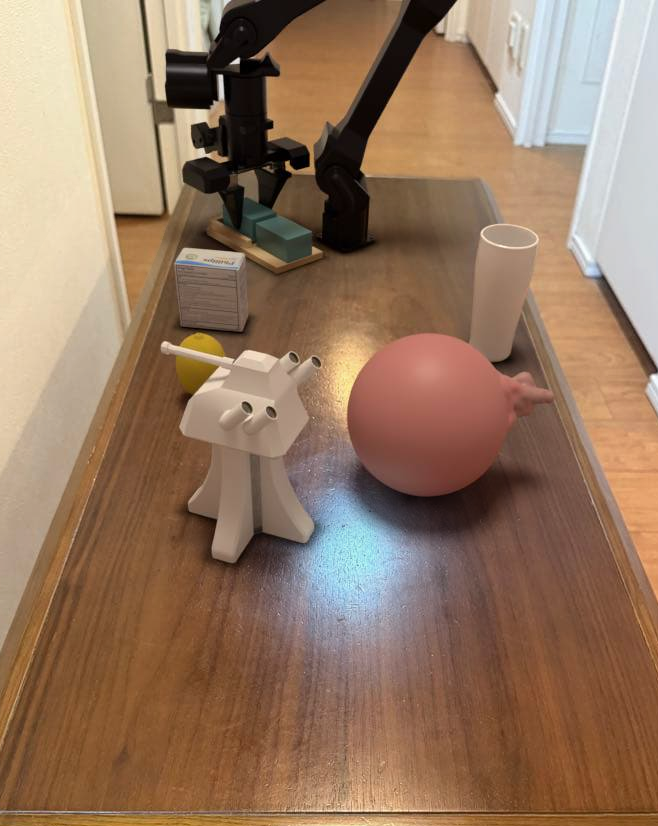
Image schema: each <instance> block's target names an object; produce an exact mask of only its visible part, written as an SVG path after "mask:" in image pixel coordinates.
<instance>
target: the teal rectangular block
mask: <svg viewBox="0 0 658 826" xmlns="http://www.w3.org/2000/svg"><path fill="white" fill-rule="evenodd" d="M221 206H222V207H221V208H222V215H223V224H224V225H226V226H228V227H230V228H231V229H233V230H235V231H237V232H239V233H241V234H242V235H244V236H246V237H248V238H250V239H251V240H252V242H256V223H258V222H261V221H265V220H268V219H271V218H274V217H278V213H277V211H276V210H274V209H272V210H271V209H270V208H268V207H266V206H264V205H262V204H260V203H259V201H256V200H254V199H252V198H250V197H248V196H246V197H245V196H244V202H243V214H242V223H241V228H240V229H239V230H237V229H236V228H234V226H233V224H232V221H231V219H230V217H229V214H228V212H227V209H226V207H225V205H224V203H222V204H221Z"/></svg>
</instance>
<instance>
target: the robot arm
mask: <svg viewBox="0 0 658 826" xmlns="http://www.w3.org/2000/svg"><path fill="white" fill-rule="evenodd" d="M326 1H327V0H229V1H228V2H227V3H226V4H225V5H224V7H223V9H222V11H221V18H220V22H219V26H218V27H219V28H218V33H217V35H216V36H215V38H214V40H213V41H210V46H209V48H208V51H189V50H187V51H186V50H180V49H177V48H167V49H166V50H165V53H164V57H165V59H164V60H165V82H164V93H165V100H166V105H167V108H168V109H172V110H173V109H175V110H176V109H177V110H205V111H207V110H208V111H210V110H212V106H214V105H215V103H214V102H217V103H218V102H220V79H219V75H220V76H222V86H223V105H224V114H221V115H219V118H218V119H217V121H218V126H212V127H210V126H209V124H208V122H207V121H201V122H197V123H192V124H190V139H191V142H192V146H193V148H194V149H195V150H199V149H203V150H204V155H208V154H212V153H213V152H216V153H217V156H219V157H222V158H227V160H226V161H222V162H218V161H216V160H214V159H212V158H211V157H208V156H202V157H198V158H195V159H189V160H186V161H185V162H184V163H183V165H182V169H181V173H182V174H181V177H182V183H184V184H186V185H187V186H189V187H191V188H193V189H195V190H197V191H198V192H200V193H203V194H204V195H205V194H206V195H212V194H215V193H218V195H219V197H220V198H221V200H222V202H223V204H224V205H225V207H226V209H227V212H228V214H229V217H230V219H231V221H232V224H233V226H234V228H236V229H237V230H239V229H240V228H241V223H242V214H243V202H244V198H245V187H244V186H243V185H241V184H239V177H238V176H239V175H241V174H244V173H248V172H252V171H253V172H254V174H255V177H256V180H257V194H258V195H257V197H258V203H260V204H262V205H264V206H266V207H268V208H270V209H271V210H273V208H274V206H275V204H276V202H277V200H278V197H279V196H280V194H281V192H282V190H283V188H284V186H286V183H287V181H288V179H291V178H292V177H293V173H292V172H291V171H290V170H287V165H286V163H287V162H288V163H289V166H290V167H291V168H292V170H293V171H299V170H305V169H306V168H310V167H311V152H310V150H309V148H308V146H307V145H306V144H304V143H302V142H300V141H297V140H295V139H292V138H290V137H289V136H284V137H280V138H275V139H272V140H269V134H268V133H269V130H274V120H272V119H271V118H269V117H268V81H267V78H268V77H270V78H279V77H280V76H281V65H280V64H279V63H278V61H276V60H275V59H274V58H273V57H272V55H271V53H270V52H269V51H266V52H265V53H264V54H263V56H262V57H260V58H259V57H258V58H255V56H257V55H258V54H259V53H261V51H263V50H264V49H265V48H266V47H267V46H268V45H270V44H271V42H273V41H274V40H276V38H277V37H278V36H280V34H281V33H282V32H283V31H284V30H285V28H287V27H288V26H289V24H292V22H293V21H294V20H295V19H297V18H299V17H301V16H303V15H304V14H305V13H308V12H309V11H311V10H312V9H314V8H316V7H318V6H319V5H321V4H322V3H324V2H326ZM457 2H458V0H401V3H400V7H399V11H398V14H397V17H396V19H395V22H394V23H393V25H392V27H391V28H390V30H389V32H388V34H387V36H386V38H385V39H384V41H383V44H382V45H381V48H380V49H379V51H378V53H377V55H376V57H375V58H374V61H373V62H372V65H371V66H370V68H369V70H368V72H367V74H366V76H365V78H364V80H363V81H362V83H361V85H360V87H359V89H358V91H357V93H356V95H355V96H354V98H353V99H352V100H353V101H352V102H351V104H350V106H349V108H348V109H347V112H346V114H345V115H344V117H343V118H342V119H340V121H339V122H338V123H336V125H333V124H332V123H331V122H330V121H328V120H327V121H326V122H325V123H324V126H323V129H322V132H321V134H320V136H319V138H318V140H317V141H316V142H315V143H314V144H313V145H312V147H313V169H314V179H315V183H316V185H317V187H318V189H319V190H320V191H321V192H322V193H324V194H325V195H326V196H327V199H324V200H323V201H324V204H323V212H322V214H321V215H322V217H321V232H320V233H317V234H316V239H317V240H318V241H321V242H323V243H325V244H326V245H329V246H331V247H332V248H335V249H337V250H339V251H340V252H342V253H347V252H350V251H353V250H356V249H359V248H362V247H365V246H367V245H370V244H373V243H375V241H376V238H375V237H373V236H372V235H369V233H368V232H369V218H370V217H369V216H370V201H371V200H370V199H371V196H370V195H371V194H370V191H369V190H370V189H369V187H368V182H367V181H368V180H367V177H366V174H365V173H364V172H363V170H362V169H361V167H362V164H363V161H364V158H365V153H366V150H367V146H368V142H369V138H370V137H371V134H372V133H373V131H374V129H375V127H376V126H377V124H378V122H379V120H380V118H381V116H382V114H383V113H384V111H385V109H386V108H387V105H388V103H389V102H390V101H391V99H392V97H393V94H394V93H395V91H396V89H397V88H398V86H399V85H400V82H401V80H402V78H403V76H405V73H406V72H407V69H408V68H409V66H410V65H411V62H412V60H413V59H414V57H415V55H416V53H417V51H418V50H419V48H420V46H421V45H422V42H423V41H424V39H425V38H426V37H427V35H428V34H430V33H431V32H432V31H433V29H435V27H436V26H438V25H439V24H440V23H441V22H442V21H443V20H444V18H445V17H446V16H447V15H448V13H449V12H450V11H451V10H452V8H453V7H454V6H455V4H456V3H457ZM237 59H239V63H233V62H234V61H236V60H237Z"/></svg>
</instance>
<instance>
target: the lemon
mask: <svg viewBox="0 0 658 826" xmlns="http://www.w3.org/2000/svg"><path fill="white" fill-rule="evenodd" d="M178 347H182V348H186V349H190V350H194V351H198V352H202V353H206V354H210V355H214V356H218V357H222V358H223V357H227V356H226V353H225V350H224V348H223V346H222V344H221V343H220V342H219V341H218V340H217V339H216V338H214V337H213V336H211V335H208V334H206V333H202V332H196V333H194V334H191V335H189V336H187V337H186V338H185V339H183V340H182V341H181V343H180V344H179V345H178ZM219 367H220V366H217V365H214V364H210V363H206V362H202V361H198V360H194V359H190V358H186V357H182V356H178V355H175V371H176V375H177V376H176V377H177V379H178V382H179V383H180V385H181V386H182V388H183V389H184V390H185V391H186V392H187V393H189V394H191V395H192V396H193V395H194V394H195V393H196V392H197V391H198V390H199V389H200V388H201V386H202V385H203V384H204V383H205V382H206V381H207V380H208V379H209V378H210V376H211V375H212V374H213V373H214V372H215V371H216V370H217V369H218V368H219Z"/></svg>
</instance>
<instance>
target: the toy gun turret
mask: <svg viewBox="0 0 658 826" xmlns="http://www.w3.org/2000/svg"><path fill="white" fill-rule="evenodd" d="M160 352H161V354H163V355H170V354H171V355H175V356H176V355H178V356H182V357H186V358H190V359H194V360H198V361H202V362H206V363H210V364H214V365H217V366H220V367H219V368H218V369H217V370H216V371H215V372H214V373H213V374H212V375H211V376H210V378H209V379H208V380H207V381H206V382H205V383H204V384H203V385H202V386H201V388H200V389H199V390H198V391H197V392H196V393H195V394H194V395H192V396H191V398H189V399H188V401H187V404H186V406H185V409H184V412H183V415H182V418H181V421H180V423H179V426H178V428H179V430H180V432H181V433H182V435H183V436H185V437H187V438H189V439H193V440H197V441H200V442H204V443H207V444H211V447H212V449H211V461H210V466H209V468H208V471H207V475H206V477H205V479H204V481H203V483H202V484H201V486H199V487H198V488H197V490H196V491H195V492H194V494H193V495H192V496H191V497H190V499H188V501H187V508H188V509H187V510H188V511H189V513H192V514H196V515H200V516H203V517H207V518H211V519H214V520H216V526H215V529H214V530H215V531H214V536H213V540H212V544H211V556H212V559H215V560H219V561H222V562H226V563H228V564H234V563H235V564H236V562H237V561H238V559H239V558H240V556H241V555H242V553H243V552H244V550H245V549H246V547H247V546H248V544H249V542H251V540H252V538H253V536H254V535H257V534H260V533H264V534H268V535H272V536H275V537H279V538H283V539H286V540H290V541H293V542H297V543H301V544H306V543H308V542H309V540H310V538H311V536H312V535H313V533H314V531H315V523H314V519H312V518H311V516H310V515H309V514H308V512H307V511H306V509H305V508H304V506H303V505H302V503H301V501H300V500H299V498H298V496H297V494H296V492H295V490H294V488H293V486H292V483H291V481H290V478H289V476H288V473H287V471H286V468H285V463H284V462H285V461H284V457H283V456H284V455H286V454H287V452H288V451H289V449H290V448H291V446H292V445H293V444H294V442H295V441H296V439H297V438H298V437H299V435H300V433H301V432H302V430H303V429H304V428H305V426H306V425H307V424H308V422H309V420H310V417H309V414H308V412H307V410H306V408H305V406H304V403H303V401H302V400H301V398H300V395H299V392H298V387H299V386H300V385H301V384H302V383H303V382H305V381H306V380H307V379H309V378H310V377H311V376H313V374H315V373H316V372H318V371H319V370H320V369H322V367H323V363H322V360H321V359H320V357H319V356H317V355H311V356H310V357H309V358H307V359H306V360H305V361H304V362H302V363H301V364H300V357H299V355H298V354H297V353H296V352H295V351H292V350H291V351H289V352H287V353H286V354H284V356H282V357H281V358H280V359H279V358H277V357H276V356H273V355H270V354H268V353H264V352H260V351H255V350H251V349H247V350H244V351H242V353H241V354H240V355H237V356H236V357H235V358H232V357H231V358H230V357H227V356H226V357H223V358H222V357H218V356H214V355H210V354H206V353H202V352H198V351H194V350H190V349H186V348H182V347H179V345H174V344H172V343H171V342H169V341H167V340H166V341H165V340H164V341H163V342H162V343H161V344H160ZM299 364H300V365H299ZM296 366H297V367H296ZM295 367H296V368H295ZM294 368H295V369H294ZM293 369H294V370H293ZM290 371H291V372H290ZM289 372H290V373H289ZM288 373H289V374H288Z"/></svg>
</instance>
